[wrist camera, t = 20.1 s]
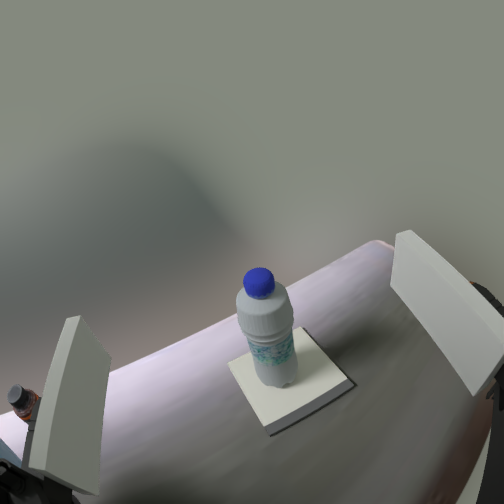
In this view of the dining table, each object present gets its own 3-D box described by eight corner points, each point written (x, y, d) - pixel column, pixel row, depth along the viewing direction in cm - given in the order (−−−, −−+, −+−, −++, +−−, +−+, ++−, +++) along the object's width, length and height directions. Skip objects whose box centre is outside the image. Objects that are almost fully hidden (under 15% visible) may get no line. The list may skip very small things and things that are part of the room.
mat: (270, 436, 34) (269, 435, 34) (227, 364, 46) (226, 362, 46) (353, 387, 38) (354, 385, 38) (300, 328, 50) (300, 325, 50)
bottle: (297, 354, 45) (284, 250, 34) (302, 389, 39) (291, 288, 28) (256, 360, 45) (227, 259, 35) (257, 395, 40) (223, 298, 29)
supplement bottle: (42, 441, 34) (0, 408, 28) (43, 415, 39) (6, 381, 33) (64, 438, 35) (22, 405, 29) (65, 412, 40) (27, 376, 34)
